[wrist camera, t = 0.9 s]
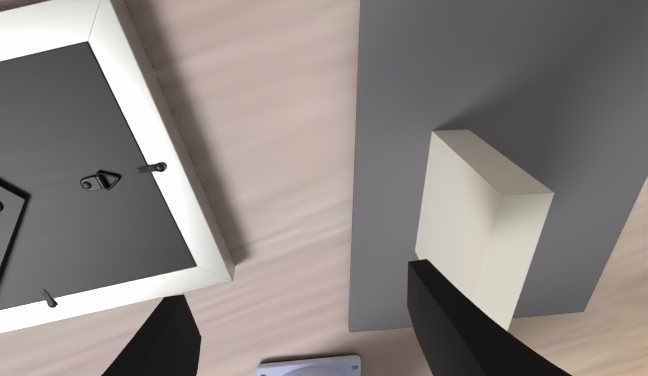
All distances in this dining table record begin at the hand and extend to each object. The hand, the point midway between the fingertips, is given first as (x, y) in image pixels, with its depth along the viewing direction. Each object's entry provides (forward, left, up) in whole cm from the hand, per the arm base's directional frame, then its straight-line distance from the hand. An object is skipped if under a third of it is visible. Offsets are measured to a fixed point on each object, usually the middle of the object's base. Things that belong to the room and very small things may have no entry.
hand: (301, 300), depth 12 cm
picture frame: (-1, +16, -11) cm, 19 cm away
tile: (-2, -8, -9) cm, 12 cm away
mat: (-2, -12, -10) cm, 16 cm away
